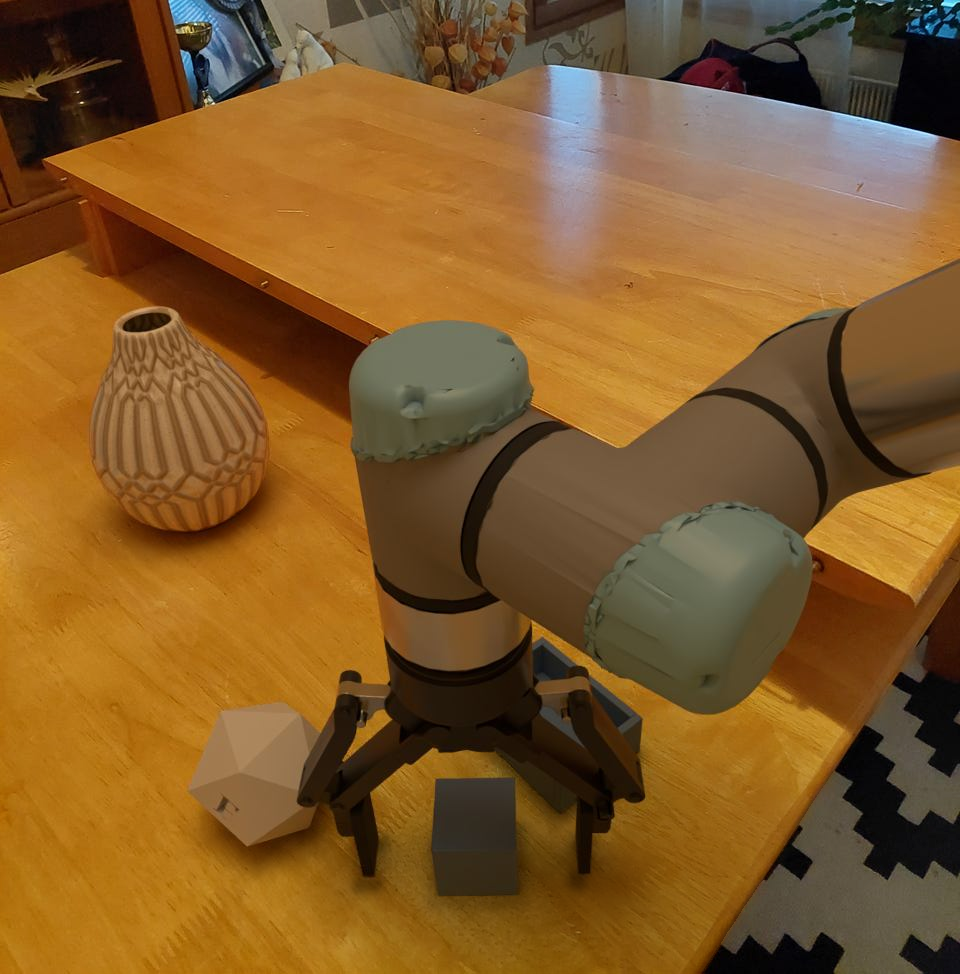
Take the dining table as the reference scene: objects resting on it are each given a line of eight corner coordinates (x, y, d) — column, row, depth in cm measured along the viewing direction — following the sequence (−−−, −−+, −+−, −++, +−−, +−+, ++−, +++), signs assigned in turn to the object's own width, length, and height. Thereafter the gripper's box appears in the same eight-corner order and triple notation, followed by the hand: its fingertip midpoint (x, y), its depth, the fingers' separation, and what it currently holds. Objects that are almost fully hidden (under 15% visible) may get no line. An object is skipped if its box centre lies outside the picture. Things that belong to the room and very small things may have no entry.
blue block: (516, 822, 61) (514, 777, 58) (517, 895, 57) (516, 849, 54) (441, 823, 61) (435, 778, 58) (437, 895, 57) (431, 851, 54)
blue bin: (640, 750, 65) (643, 717, 63) (560, 814, 62) (560, 781, 59) (542, 668, 72) (542, 636, 70) (465, 721, 68) (462, 688, 66)
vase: (246, 564, 83) (194, 370, 71) (84, 551, 86) (8, 361, 74) (303, 462, 96) (267, 282, 84) (160, 452, 98) (105, 277, 86)
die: (202, 781, 66) (140, 787, 56) (284, 679, 67) (237, 668, 58) (290, 861, 64) (241, 882, 54) (373, 755, 65) (339, 757, 56)
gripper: (695, 565, 49) (663, 801, 62) (228, 575, 50) (293, 805, 63) (722, 674, 43) (681, 910, 56) (192, 683, 44) (272, 913, 57)
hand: (476, 855), depth 59 cm, fingers open, 13 cm apart
